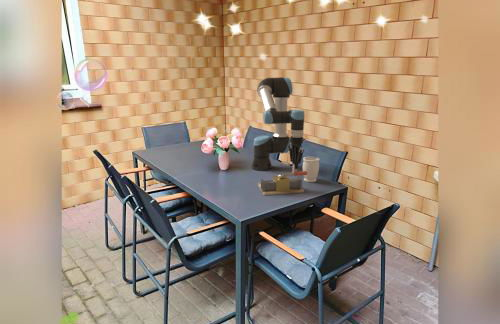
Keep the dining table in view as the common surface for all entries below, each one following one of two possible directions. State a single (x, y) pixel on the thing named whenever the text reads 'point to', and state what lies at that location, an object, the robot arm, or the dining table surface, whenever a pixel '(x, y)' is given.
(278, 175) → the lever
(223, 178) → the dining table surface
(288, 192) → the board
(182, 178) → the dining table surface
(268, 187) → the valve pipe
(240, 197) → the dining table surface
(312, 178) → the jar
